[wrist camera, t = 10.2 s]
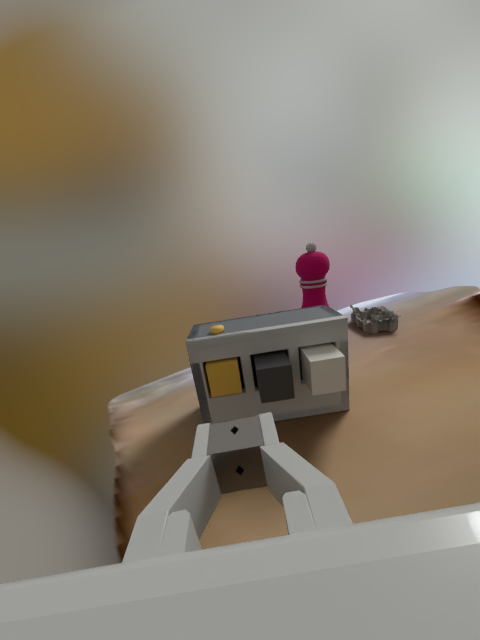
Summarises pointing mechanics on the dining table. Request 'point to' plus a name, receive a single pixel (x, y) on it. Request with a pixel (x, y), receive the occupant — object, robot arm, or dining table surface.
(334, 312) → the console
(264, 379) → the black button
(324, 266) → the pepper mill
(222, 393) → the amber button
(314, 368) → the white button
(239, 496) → the dining table surface
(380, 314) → the egg carton
